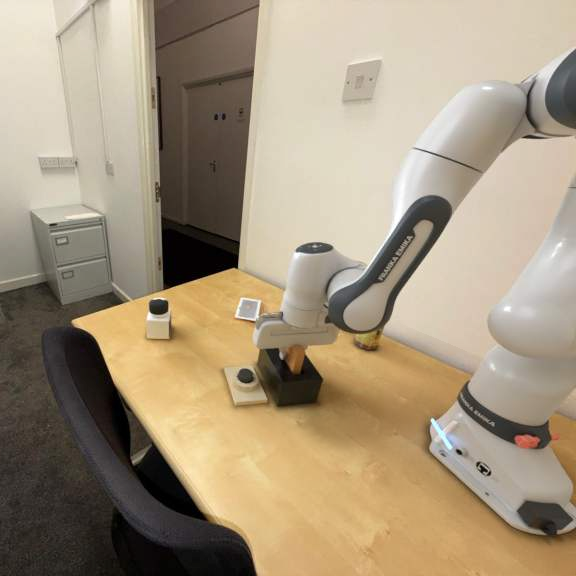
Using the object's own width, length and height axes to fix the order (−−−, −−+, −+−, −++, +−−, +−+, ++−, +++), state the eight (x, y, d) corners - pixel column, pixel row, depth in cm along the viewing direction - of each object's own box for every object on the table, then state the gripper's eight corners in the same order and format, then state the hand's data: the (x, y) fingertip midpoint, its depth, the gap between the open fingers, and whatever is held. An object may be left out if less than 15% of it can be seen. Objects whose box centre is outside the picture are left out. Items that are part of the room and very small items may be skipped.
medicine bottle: (169, 339, 94) (169, 307, 88) (147, 339, 94) (145, 306, 88) (171, 326, 100) (171, 295, 95) (150, 325, 100) (148, 294, 95)
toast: (297, 383, 74) (305, 351, 69) (289, 384, 73) (297, 352, 69) (283, 358, 81) (289, 329, 77) (276, 359, 81) (282, 329, 76)
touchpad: (260, 303, 115) (261, 298, 114) (256, 323, 103) (257, 318, 102) (240, 299, 117) (241, 294, 116) (234, 319, 105) (234, 314, 104)
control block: (267, 402, 73) (268, 394, 71) (235, 405, 72) (236, 397, 70) (251, 368, 83) (253, 360, 82) (224, 370, 82) (224, 362, 81)
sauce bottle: (374, 353, 90) (396, 296, 81) (351, 345, 93) (370, 289, 84) (377, 343, 94) (399, 288, 85) (356, 335, 98) (374, 281, 89)
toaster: (316, 403, 73) (323, 379, 69) (277, 407, 72) (282, 382, 68) (290, 361, 86) (295, 339, 82) (257, 364, 85) (260, 341, 81)
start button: (254, 382, 75) (255, 377, 74) (240, 384, 74) (241, 379, 74) (249, 372, 78) (250, 367, 77) (236, 373, 78) (237, 368, 77)
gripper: (261, 321, 65) (253, 369, 71) (348, 316, 67) (333, 363, 74) (252, 306, 70) (246, 352, 77) (333, 302, 73) (320, 346, 79)
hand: (289, 357), depth 75 cm, fingers closed on toast, 2 cm apart
